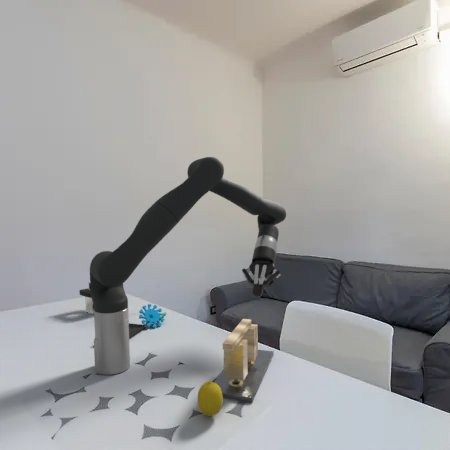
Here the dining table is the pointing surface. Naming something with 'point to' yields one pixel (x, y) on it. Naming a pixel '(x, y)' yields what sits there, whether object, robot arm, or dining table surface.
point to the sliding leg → (244, 332)
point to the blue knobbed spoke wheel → (152, 316)
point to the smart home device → (135, 329)
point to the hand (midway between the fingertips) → (256, 296)
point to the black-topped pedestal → (88, 299)
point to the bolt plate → (248, 380)
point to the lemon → (210, 398)
